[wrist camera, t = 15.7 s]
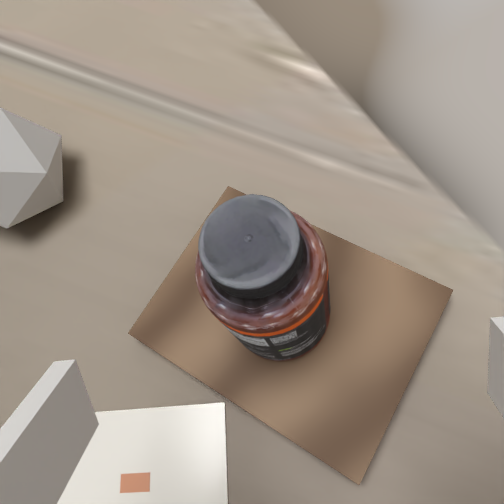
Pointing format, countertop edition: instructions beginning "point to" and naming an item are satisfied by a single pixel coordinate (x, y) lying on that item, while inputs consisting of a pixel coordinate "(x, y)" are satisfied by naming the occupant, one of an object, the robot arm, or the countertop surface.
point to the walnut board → (318, 359)
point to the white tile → (154, 458)
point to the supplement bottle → (264, 276)
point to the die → (28, 169)
